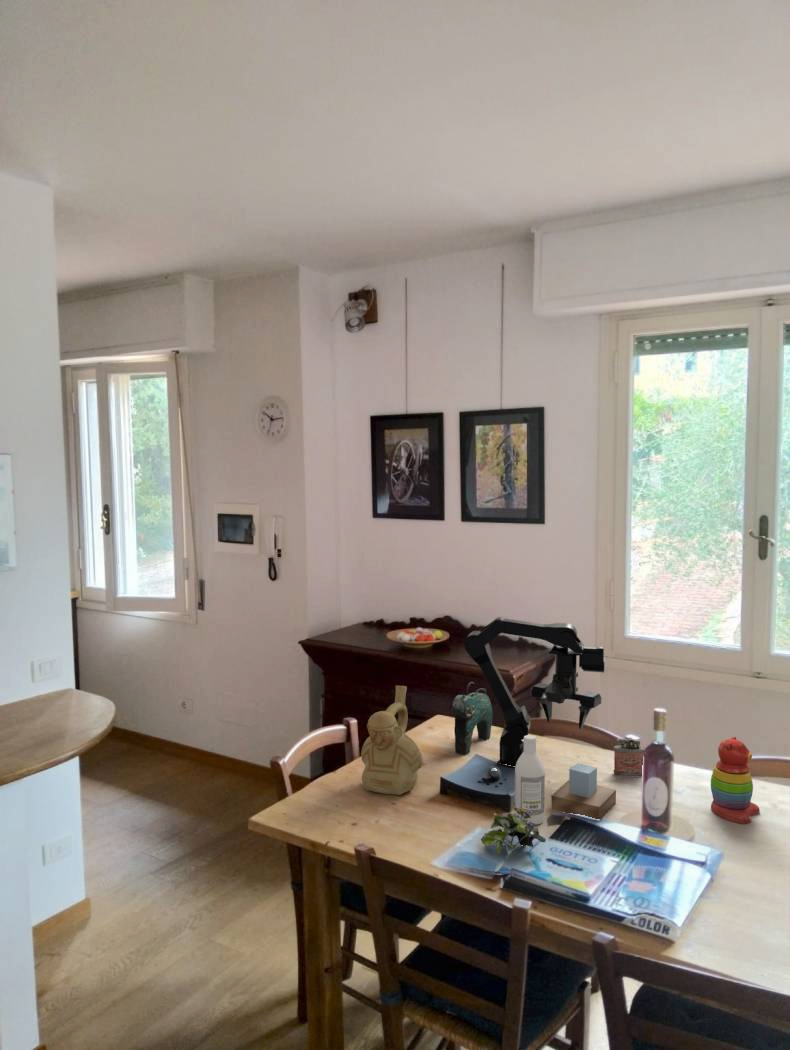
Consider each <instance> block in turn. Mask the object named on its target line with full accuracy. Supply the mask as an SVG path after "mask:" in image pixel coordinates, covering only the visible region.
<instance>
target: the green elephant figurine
mask: <svg viewBox="0 0 790 1050" xmlns="http://www.w3.org/2000/svg"><path fill="white" fill-rule="evenodd" d="M471 684H472V686H474V685H475V682H473V681H470V682H468V684H467V687H466V695H465V694H457V695H456V696H455V698H454V699H453V701H452V710H451V711H452V714H453V715H454V749H455V750H454V751H455V752H454V753H455V754H459V755H463V756H466V755H468V754H470V751H471V747H472V745H471V744H472V737H473V734H474V729H475V727H476V730H477V739H478V738H479V740H482V739H484V741H487V739H488V740H489V739H490V738H491V734H492V732H491V731H492V725H493V707H492V703H491V699H490V697H489V696H488V695H487V689H486V688H482V687H481V688H478V689H477V690H476V691H474V692H472V693H469V687H470V685H471ZM479 691H483V692H484V693H482V692H479Z"/></svg>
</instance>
